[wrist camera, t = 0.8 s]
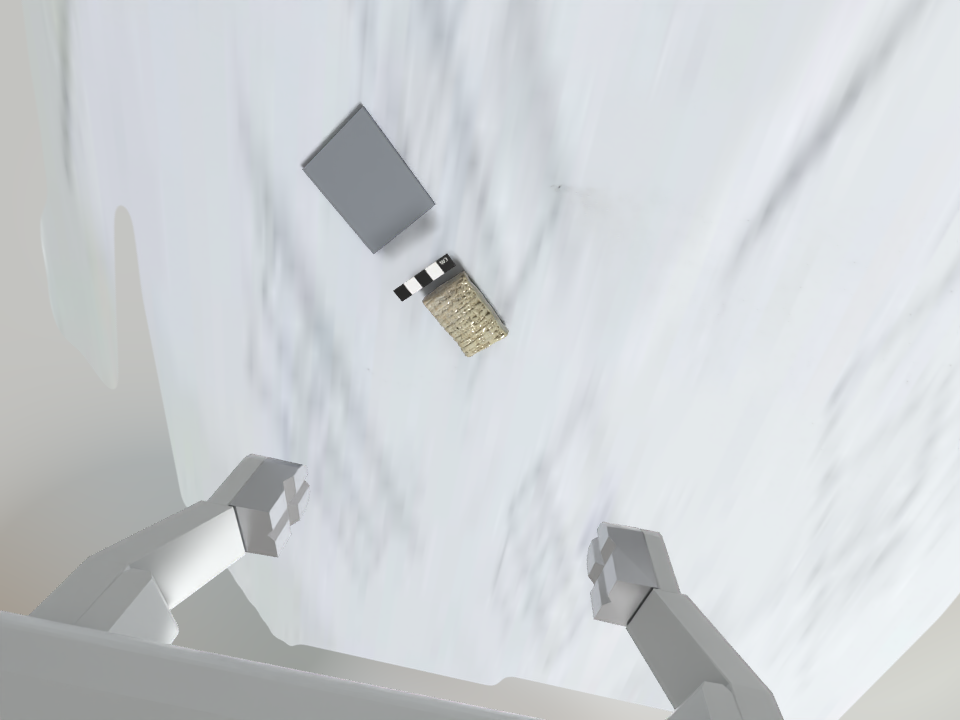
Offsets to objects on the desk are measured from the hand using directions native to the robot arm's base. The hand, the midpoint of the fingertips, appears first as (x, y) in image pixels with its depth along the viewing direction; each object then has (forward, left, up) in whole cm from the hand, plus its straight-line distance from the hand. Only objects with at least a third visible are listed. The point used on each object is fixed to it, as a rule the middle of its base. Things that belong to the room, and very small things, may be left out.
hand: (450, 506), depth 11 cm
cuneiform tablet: (+11, -2, -33) cm, 34 cm away
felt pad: (+11, -11, -35) cm, 38 cm away
